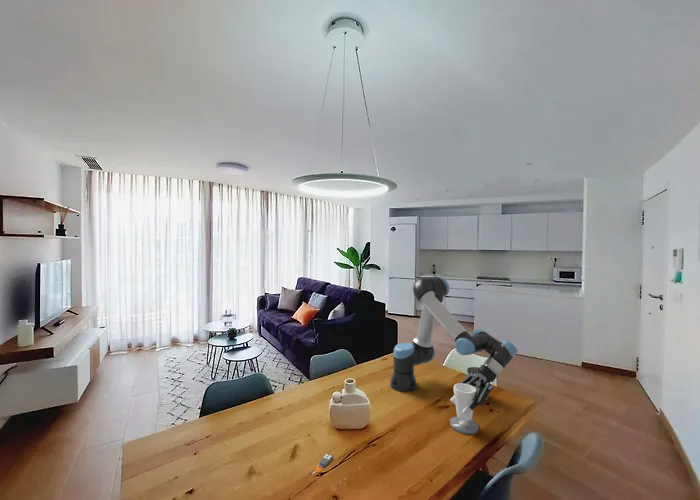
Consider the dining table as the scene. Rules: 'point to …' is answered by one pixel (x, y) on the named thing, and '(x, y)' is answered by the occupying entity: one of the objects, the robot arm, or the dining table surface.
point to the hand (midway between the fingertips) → (458, 407)
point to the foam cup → (463, 399)
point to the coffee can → (475, 370)
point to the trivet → (464, 425)
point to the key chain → (323, 462)
